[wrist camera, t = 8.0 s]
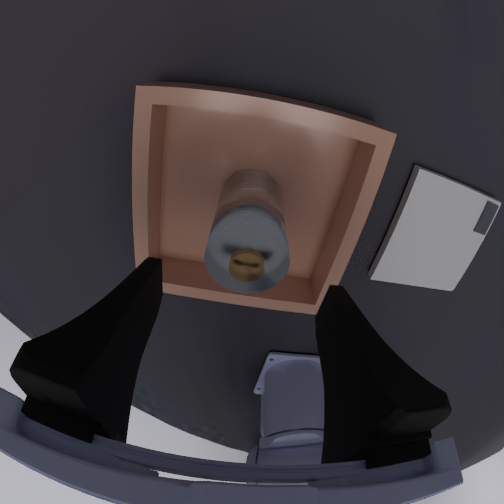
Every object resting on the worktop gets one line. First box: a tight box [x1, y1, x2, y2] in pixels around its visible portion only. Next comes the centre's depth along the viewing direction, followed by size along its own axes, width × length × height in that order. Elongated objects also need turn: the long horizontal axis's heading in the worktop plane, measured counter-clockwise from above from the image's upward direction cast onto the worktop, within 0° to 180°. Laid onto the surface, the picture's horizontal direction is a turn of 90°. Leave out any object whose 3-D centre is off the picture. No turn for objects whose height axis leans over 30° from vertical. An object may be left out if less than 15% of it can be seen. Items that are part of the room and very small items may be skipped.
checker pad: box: [368, 165, 501, 291], centre depth 21 cm, size 10×10×1 cm
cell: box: [204, 169, 290, 293], centre depth 17 cm, size 4×4×8 cm
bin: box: [132, 81, 397, 315], centre depth 19 cm, size 14×14×4 cm
